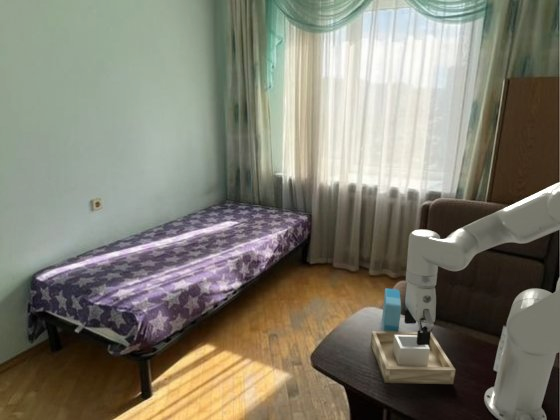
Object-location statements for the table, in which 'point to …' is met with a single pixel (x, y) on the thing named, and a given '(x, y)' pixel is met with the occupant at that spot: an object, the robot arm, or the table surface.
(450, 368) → the wooden tray
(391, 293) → the data package
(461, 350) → the table surface
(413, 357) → the white open box
